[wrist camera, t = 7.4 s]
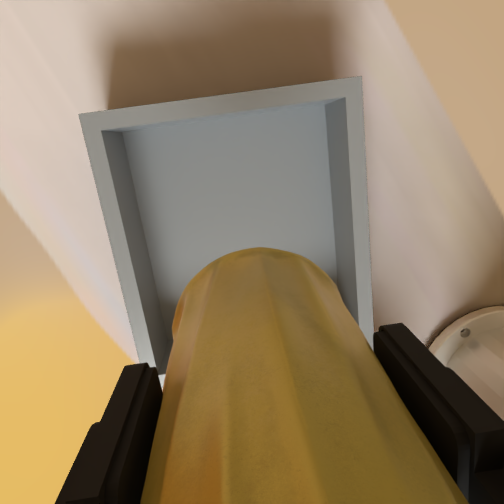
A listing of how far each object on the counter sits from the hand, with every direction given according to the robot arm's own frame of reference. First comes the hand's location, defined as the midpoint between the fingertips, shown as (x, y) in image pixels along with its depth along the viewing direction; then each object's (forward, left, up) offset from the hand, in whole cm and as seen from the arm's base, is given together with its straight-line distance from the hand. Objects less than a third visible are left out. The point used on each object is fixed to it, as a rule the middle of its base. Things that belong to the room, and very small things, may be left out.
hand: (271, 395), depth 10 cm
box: (0, 0, -20) cm, 20 cm away
